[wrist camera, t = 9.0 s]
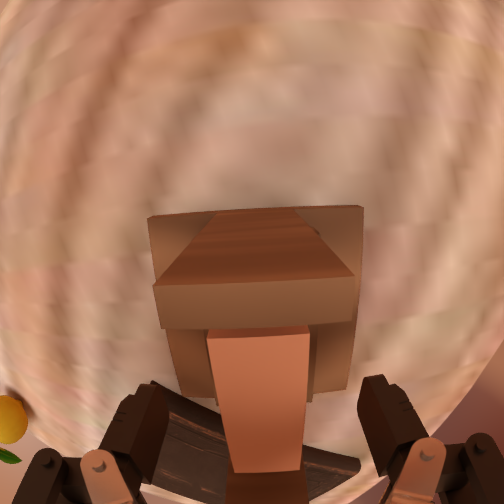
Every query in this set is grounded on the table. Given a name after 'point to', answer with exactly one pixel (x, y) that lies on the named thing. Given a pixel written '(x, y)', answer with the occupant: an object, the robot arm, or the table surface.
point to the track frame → (259, 301)
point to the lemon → (11, 426)
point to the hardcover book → (224, 456)
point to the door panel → (262, 394)
